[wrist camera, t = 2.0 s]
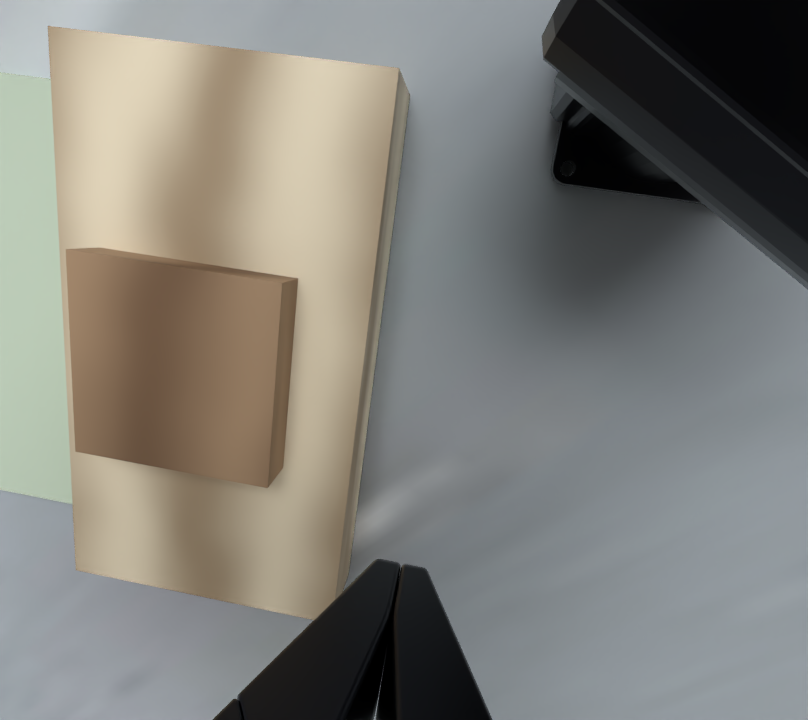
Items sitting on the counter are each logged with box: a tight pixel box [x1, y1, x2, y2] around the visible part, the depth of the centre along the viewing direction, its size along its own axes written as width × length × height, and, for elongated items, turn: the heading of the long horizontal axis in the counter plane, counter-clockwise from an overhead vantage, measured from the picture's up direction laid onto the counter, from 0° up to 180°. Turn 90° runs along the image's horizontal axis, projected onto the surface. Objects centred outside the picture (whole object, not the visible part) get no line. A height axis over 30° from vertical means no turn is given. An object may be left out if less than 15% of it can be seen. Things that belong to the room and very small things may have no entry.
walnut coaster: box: [66, 247, 298, 488], centre depth 17 cm, size 7×7×2 cm
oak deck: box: [48, 26, 410, 620], centre depth 19 cm, size 11×20×3 cm, turn 172°
